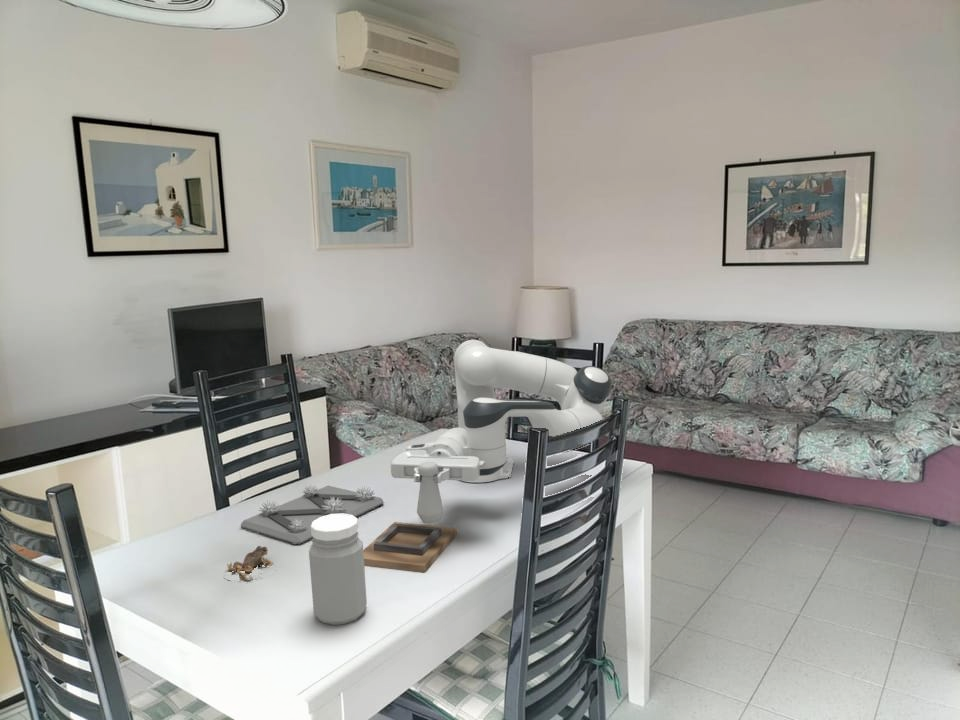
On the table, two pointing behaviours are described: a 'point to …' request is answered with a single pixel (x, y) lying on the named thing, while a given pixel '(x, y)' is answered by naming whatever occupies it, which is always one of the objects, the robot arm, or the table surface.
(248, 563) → the frog figurine
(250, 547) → the table surface
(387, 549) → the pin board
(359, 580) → the jar
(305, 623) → the table surface
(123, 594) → the table surface
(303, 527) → the decorative plate
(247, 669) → the table surface
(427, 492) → the salt shaker
